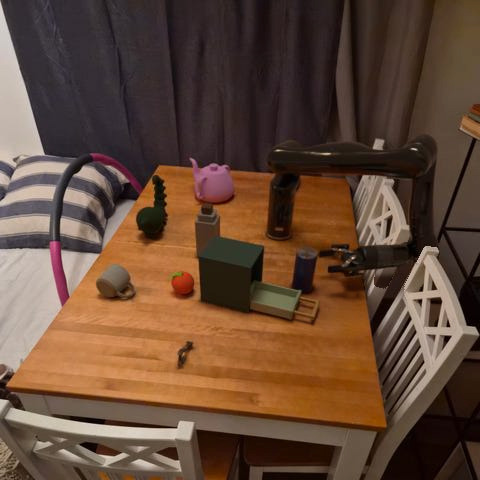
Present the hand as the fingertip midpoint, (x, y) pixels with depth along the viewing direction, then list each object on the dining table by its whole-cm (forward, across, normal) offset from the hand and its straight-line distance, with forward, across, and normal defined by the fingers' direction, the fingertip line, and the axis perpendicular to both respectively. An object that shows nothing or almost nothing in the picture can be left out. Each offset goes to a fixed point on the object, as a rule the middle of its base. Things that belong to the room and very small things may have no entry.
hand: (323, 261), depth 122 cm
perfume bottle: (+33, -24, +9) cm, 41 cm away
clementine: (+43, -3, +9) cm, 44 cm away
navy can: (+6, 0, +9) cm, 11 cm away
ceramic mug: (+62, -6, +9) cm, 63 cm away
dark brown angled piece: (+44, +24, +9) cm, 51 cm away
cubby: (+28, +1, +9) cm, 30 cm away
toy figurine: (+51, -43, +9) cm, 67 cm away
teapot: (+27, -70, +9) cm, 75 cm away
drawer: (+15, +9, +8) cm, 19 cm away
